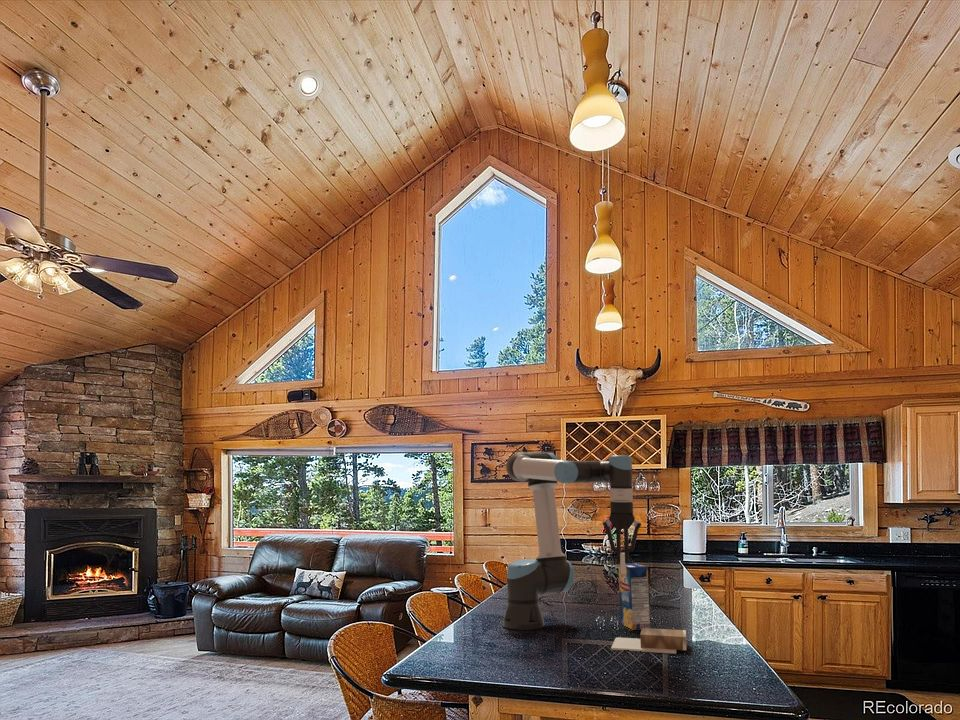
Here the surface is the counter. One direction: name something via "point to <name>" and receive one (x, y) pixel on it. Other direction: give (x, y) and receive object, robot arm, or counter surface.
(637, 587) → the beverage box
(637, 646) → the felt mat
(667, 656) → the counter surface
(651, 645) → the beige rectangular box
